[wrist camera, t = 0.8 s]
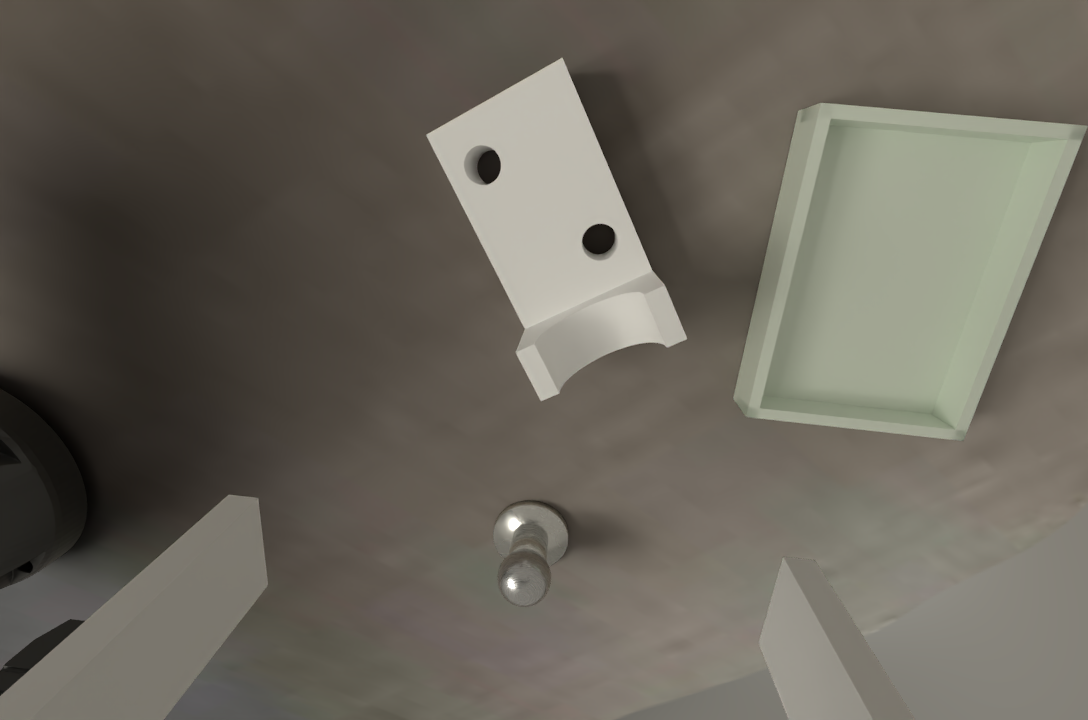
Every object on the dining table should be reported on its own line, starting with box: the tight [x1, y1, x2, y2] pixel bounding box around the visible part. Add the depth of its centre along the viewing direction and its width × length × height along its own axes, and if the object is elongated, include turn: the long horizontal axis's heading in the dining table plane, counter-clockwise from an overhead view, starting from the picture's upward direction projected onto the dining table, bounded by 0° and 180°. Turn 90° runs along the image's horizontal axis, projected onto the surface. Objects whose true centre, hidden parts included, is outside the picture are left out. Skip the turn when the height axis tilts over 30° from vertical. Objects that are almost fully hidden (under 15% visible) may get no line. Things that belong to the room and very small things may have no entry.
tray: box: [733, 103, 1088, 441], centre depth 27 cm, size 12×16×3 cm
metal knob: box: [493, 501, 568, 607], centre depth 32 cm, size 5×5×6 cm
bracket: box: [426, 58, 687, 401], centre depth 25 cm, size 13×7×8 cm, turn 26°
